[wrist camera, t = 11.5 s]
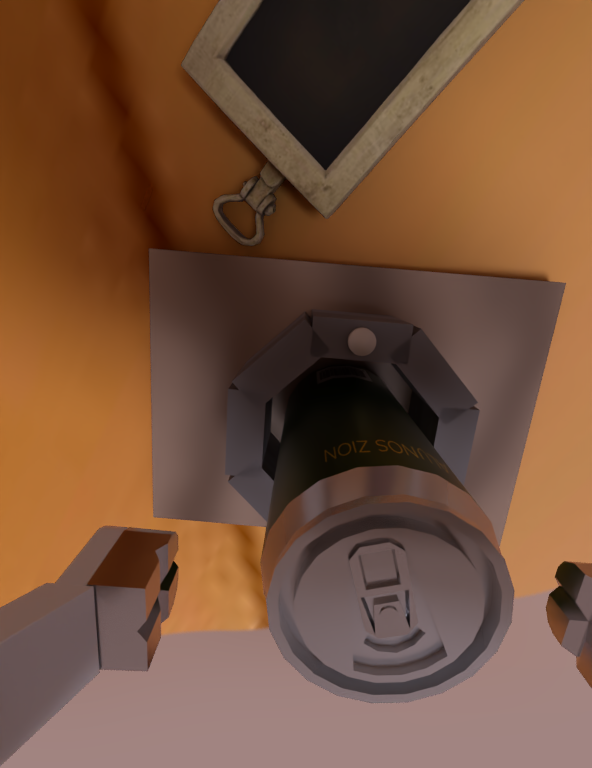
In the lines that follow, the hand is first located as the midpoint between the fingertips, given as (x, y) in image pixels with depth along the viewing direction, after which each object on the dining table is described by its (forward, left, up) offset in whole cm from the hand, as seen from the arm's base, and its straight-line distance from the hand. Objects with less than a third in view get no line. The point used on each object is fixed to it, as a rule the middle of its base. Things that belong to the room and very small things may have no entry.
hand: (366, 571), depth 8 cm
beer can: (0, 0, -12) cm, 12 cm away
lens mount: (0, 0, -13) cm, 13 cm away
